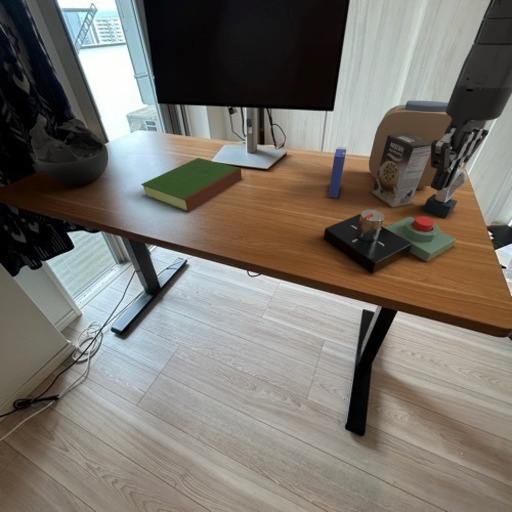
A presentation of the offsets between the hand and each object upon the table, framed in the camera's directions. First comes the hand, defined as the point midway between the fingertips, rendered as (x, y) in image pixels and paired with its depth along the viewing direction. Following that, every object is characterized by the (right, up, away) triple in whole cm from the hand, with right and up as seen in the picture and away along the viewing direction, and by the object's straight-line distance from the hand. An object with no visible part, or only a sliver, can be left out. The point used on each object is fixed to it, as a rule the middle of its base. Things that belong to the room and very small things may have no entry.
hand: (439, 187), depth 52 cm
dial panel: (-12, -11, +8) cm, 18 cm away
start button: (0, -7, +6) cm, 9 cm away
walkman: (-12, +6, +28) cm, 31 cm away
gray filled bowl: (-93, +12, +39) cm, 102 cm away
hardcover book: (-54, +9, +33) cm, 65 cm away
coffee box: (+2, +3, +24) cm, 24 cm away
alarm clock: (+10, +10, +32) cm, 34 cm away
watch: (+12, -2, +18) cm, 21 cm away
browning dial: (-12, -9, +6) cm, 16 cm away
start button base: (0, -10, +8) cm, 13 cm away
